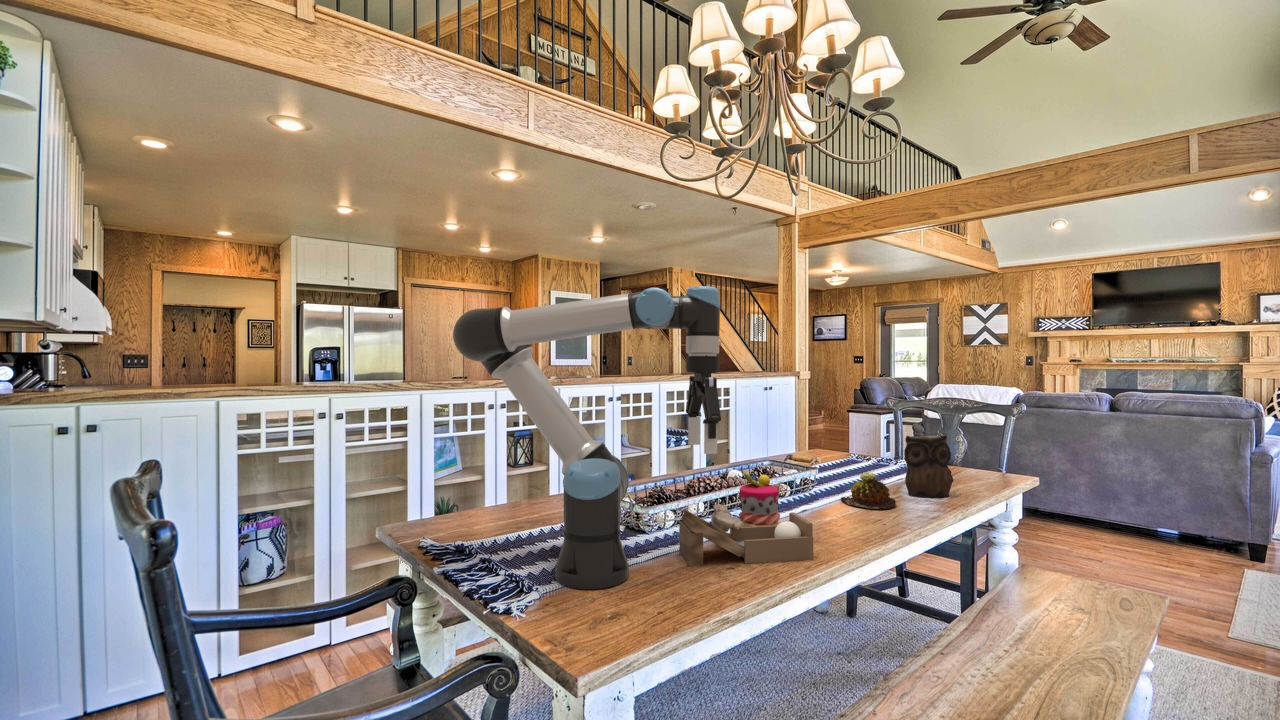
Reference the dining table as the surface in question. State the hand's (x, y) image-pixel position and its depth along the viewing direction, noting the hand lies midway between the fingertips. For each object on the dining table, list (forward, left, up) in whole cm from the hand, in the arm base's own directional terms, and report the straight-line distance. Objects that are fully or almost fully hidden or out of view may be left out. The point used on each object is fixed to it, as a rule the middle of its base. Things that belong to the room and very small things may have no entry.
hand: (701, 449), depth 136 cm
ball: (+20, -3, -23) cm, 30 cm away
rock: (+9, +14, -26) cm, 31 cm away
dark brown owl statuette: (+90, +47, -25) cm, 105 cm away
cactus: (+65, +41, -25) cm, 81 cm away
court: (+16, 0, -25) cm, 30 cm away
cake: (+21, +20, -25) cm, 38 cm away
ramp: (+2, 0, -25) cm, 25 cm away
